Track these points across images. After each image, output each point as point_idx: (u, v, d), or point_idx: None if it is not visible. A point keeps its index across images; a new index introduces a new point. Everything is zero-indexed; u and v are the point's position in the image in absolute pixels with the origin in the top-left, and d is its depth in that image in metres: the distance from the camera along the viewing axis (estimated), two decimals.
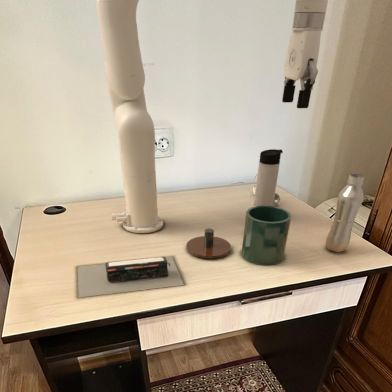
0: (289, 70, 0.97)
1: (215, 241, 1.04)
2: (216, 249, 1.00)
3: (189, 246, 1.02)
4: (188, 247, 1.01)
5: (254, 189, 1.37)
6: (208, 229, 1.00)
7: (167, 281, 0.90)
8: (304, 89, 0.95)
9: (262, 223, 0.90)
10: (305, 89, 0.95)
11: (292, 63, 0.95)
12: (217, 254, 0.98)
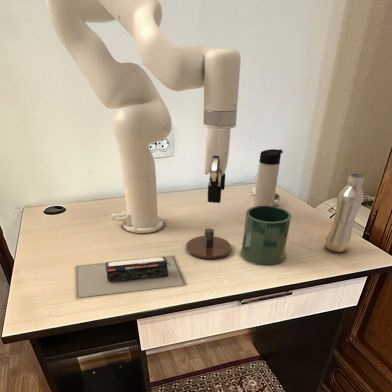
0: None
1: (215, 241, 1.04)
2: (216, 249, 1.00)
3: (189, 246, 1.02)
4: (188, 247, 1.01)
5: (254, 189, 1.37)
6: (208, 229, 1.00)
7: (167, 281, 0.90)
8: (210, 185, 0.87)
9: (262, 223, 0.90)
10: (211, 185, 0.87)
11: None
12: (217, 254, 0.98)
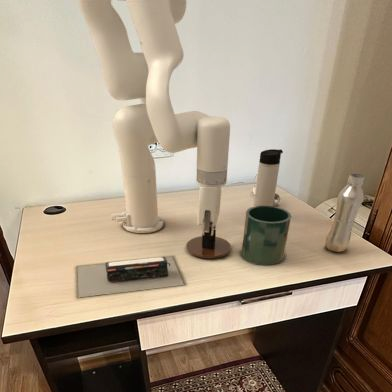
0: None
1: (215, 241, 1.04)
2: (216, 249, 1.00)
3: (189, 246, 1.02)
4: (188, 247, 1.01)
5: (254, 189, 1.37)
6: None
7: (167, 281, 0.90)
8: (204, 235, 0.97)
9: (262, 223, 0.90)
10: (205, 235, 0.97)
11: None
12: (217, 254, 0.98)
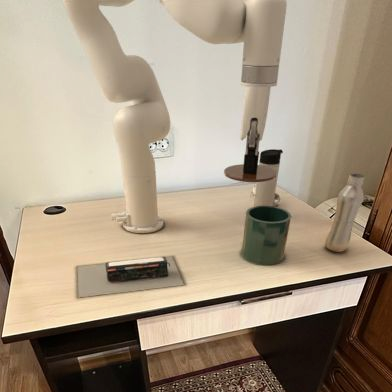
0: None
1: (257, 168, 0.90)
2: (259, 174, 0.86)
3: (228, 172, 0.87)
4: (227, 172, 0.87)
5: (254, 189, 1.37)
6: None
7: (167, 281, 0.90)
8: (247, 154, 0.83)
9: (262, 223, 0.90)
10: (248, 154, 0.83)
11: None
12: (262, 178, 0.84)
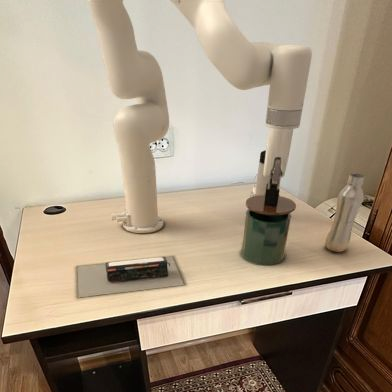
0: (264, 163, 0.87)
1: None
2: (280, 207, 0.90)
3: (249, 204, 0.91)
4: (249, 204, 0.91)
5: (254, 189, 1.37)
6: None
7: (167, 281, 0.90)
8: (269, 189, 0.87)
9: (262, 223, 0.90)
10: (270, 189, 0.87)
11: None
12: (283, 211, 0.88)
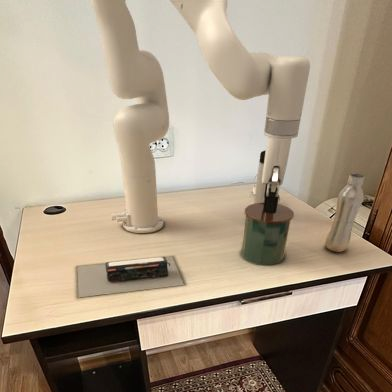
0: None
1: None
2: (278, 215, 0.91)
3: (248, 212, 0.93)
4: (247, 213, 0.92)
5: (254, 189, 1.37)
6: None
7: (167, 281, 0.90)
8: (268, 195, 0.85)
9: (262, 223, 0.90)
10: (269, 195, 0.85)
11: None
12: (281, 219, 0.89)
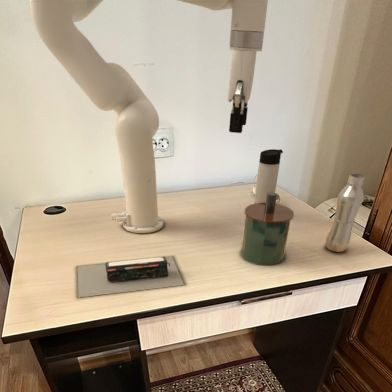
0: None
1: (275, 207, 0.95)
2: (278, 215, 0.91)
3: (248, 212, 0.93)
4: (247, 213, 0.92)
5: (254, 189, 1.37)
6: (270, 192, 0.90)
7: (167, 281, 0.90)
8: (233, 112, 0.87)
9: (262, 223, 0.90)
10: (234, 112, 0.87)
11: None
12: (281, 219, 0.89)
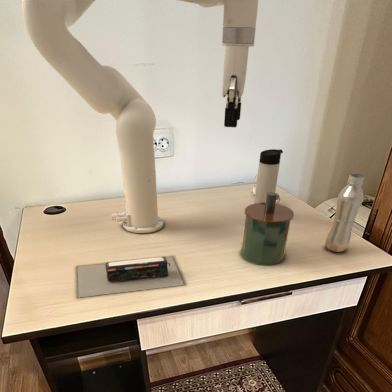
0: None
1: (275, 207, 0.95)
2: (278, 215, 0.91)
3: (248, 212, 0.93)
4: (247, 213, 0.92)
5: (254, 189, 1.37)
6: (270, 192, 0.90)
7: (167, 281, 0.90)
8: (227, 107, 0.89)
9: (262, 223, 0.90)
10: (228, 107, 0.89)
11: None
12: (281, 219, 0.89)
